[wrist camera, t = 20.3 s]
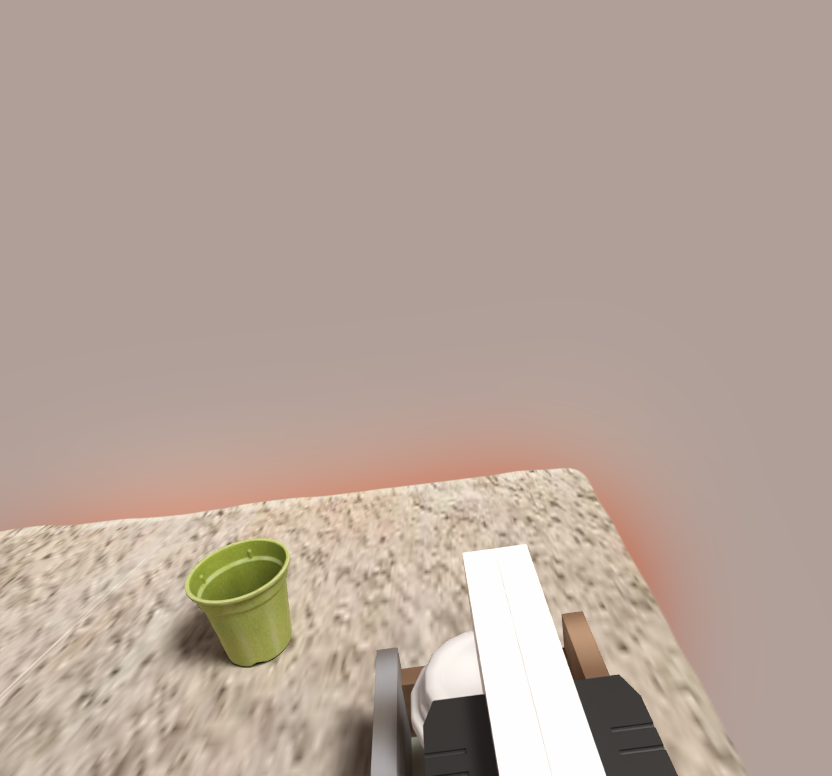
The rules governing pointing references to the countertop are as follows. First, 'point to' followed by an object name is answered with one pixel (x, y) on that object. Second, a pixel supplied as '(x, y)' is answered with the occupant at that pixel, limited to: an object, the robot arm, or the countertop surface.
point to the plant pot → (245, 598)
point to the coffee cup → (446, 678)
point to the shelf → (392, 728)
